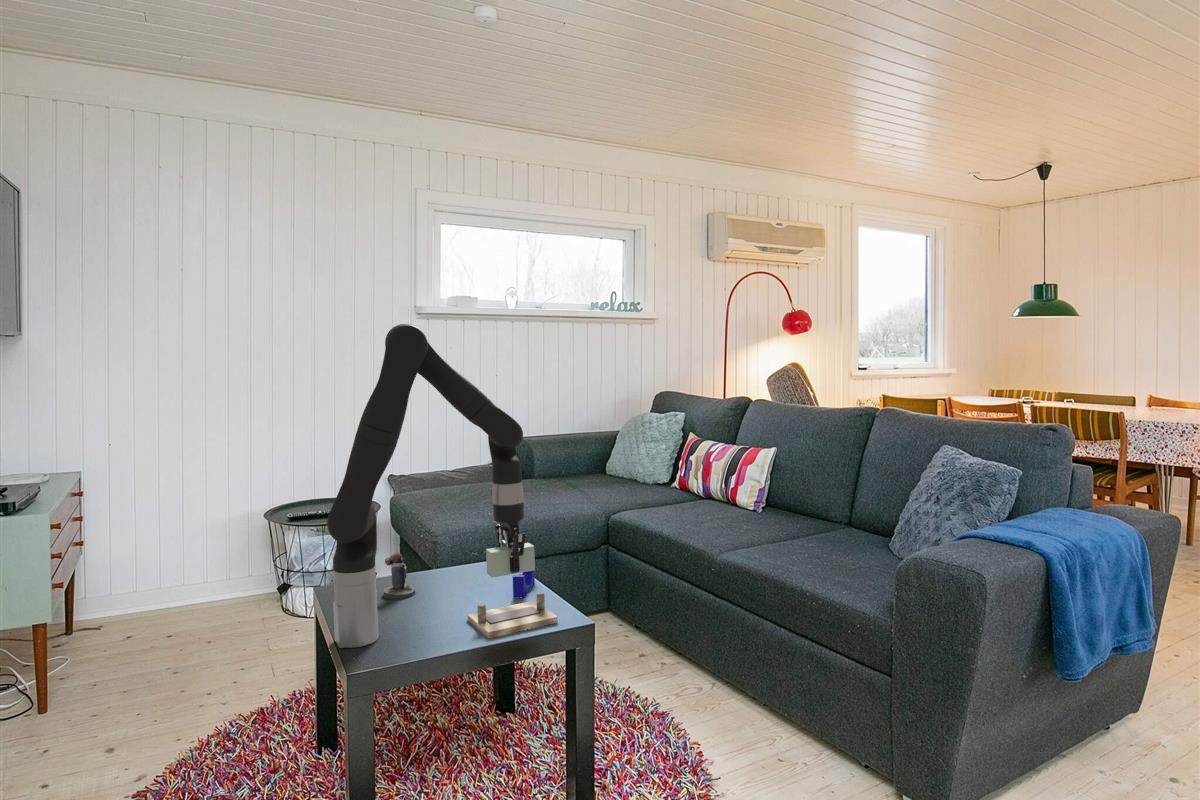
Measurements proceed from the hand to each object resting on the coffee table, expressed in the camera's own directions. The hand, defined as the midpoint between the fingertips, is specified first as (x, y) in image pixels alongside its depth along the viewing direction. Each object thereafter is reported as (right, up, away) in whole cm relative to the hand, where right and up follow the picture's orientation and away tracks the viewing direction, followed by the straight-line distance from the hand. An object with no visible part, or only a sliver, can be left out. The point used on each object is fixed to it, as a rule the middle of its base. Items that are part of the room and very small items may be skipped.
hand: (511, 569), depth 176 cm
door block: (0, -1, 0) cm, 1 cm away
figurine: (-34, -13, +24) cm, 43 cm away
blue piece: (0, -12, +25) cm, 27 cm away
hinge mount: (0, -13, +1) cm, 13 cm away
